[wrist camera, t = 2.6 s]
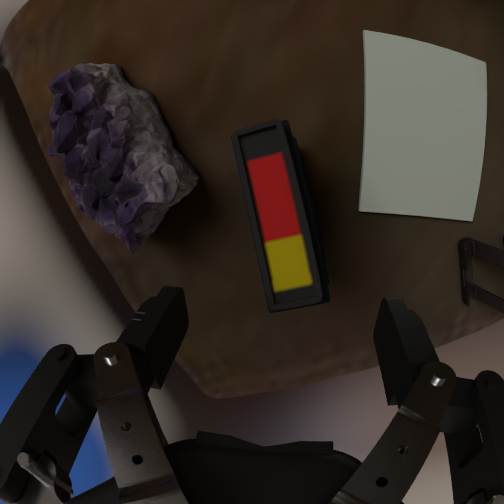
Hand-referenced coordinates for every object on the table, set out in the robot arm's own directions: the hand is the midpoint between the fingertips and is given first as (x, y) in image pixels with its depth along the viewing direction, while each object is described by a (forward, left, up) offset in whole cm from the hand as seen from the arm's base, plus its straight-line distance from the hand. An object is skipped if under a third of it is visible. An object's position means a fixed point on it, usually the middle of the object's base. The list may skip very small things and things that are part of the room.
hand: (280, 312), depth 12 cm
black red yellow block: (0, 0, -19) cm, 19 cm away
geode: (-5, -17, -20) cm, 26 cm away
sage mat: (-7, +14, -19) cm, 25 cm away
